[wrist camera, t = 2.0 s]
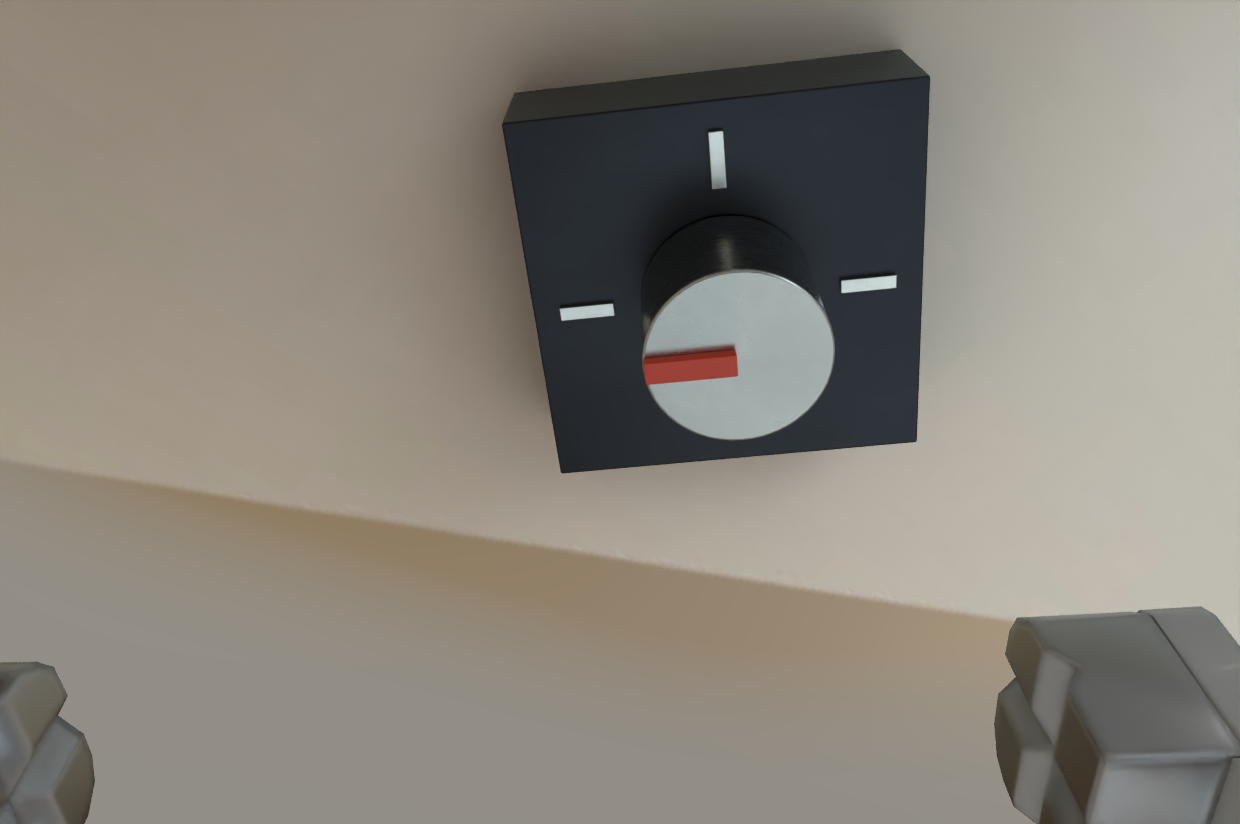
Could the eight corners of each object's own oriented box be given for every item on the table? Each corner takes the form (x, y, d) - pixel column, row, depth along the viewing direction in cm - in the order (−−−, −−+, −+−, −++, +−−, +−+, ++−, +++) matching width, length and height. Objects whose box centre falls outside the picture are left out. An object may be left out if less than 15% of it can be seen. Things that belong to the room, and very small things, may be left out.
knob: (810, 205, 25) (837, 265, 22) (814, 364, 28) (838, 439, 24) (631, 224, 26) (632, 285, 22) (649, 379, 28) (651, 456, 25)
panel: (901, 48, 27) (932, 77, 24) (893, 389, 32) (918, 445, 29) (513, 92, 27) (500, 125, 24) (566, 420, 32) (560, 477, 29)
